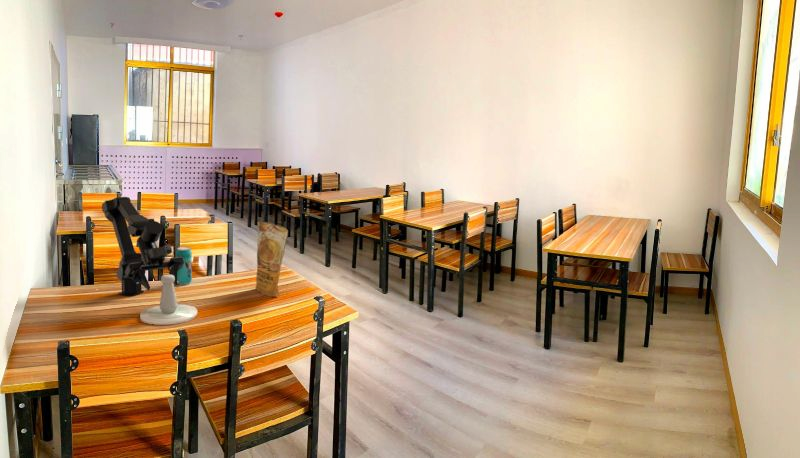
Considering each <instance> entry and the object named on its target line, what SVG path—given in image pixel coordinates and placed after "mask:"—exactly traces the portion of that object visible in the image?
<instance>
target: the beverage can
mask: <svg viewBox="0 0 800 458" xmlns="http://www.w3.org/2000/svg"><path fill="white" fill-rule="evenodd" d="M176 249H177V250H176V256H175V257H182V258H183V259H184V264H183V266H182V268H181V269H180V270H179V271H178V273H177V284H179V285H180V286H187V285H189V284H191V283H192V280H193V270H192V269H193V263H192V249H191V247H189V246H182V247H181V246H180V247H177V248H176Z"/></svg>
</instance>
